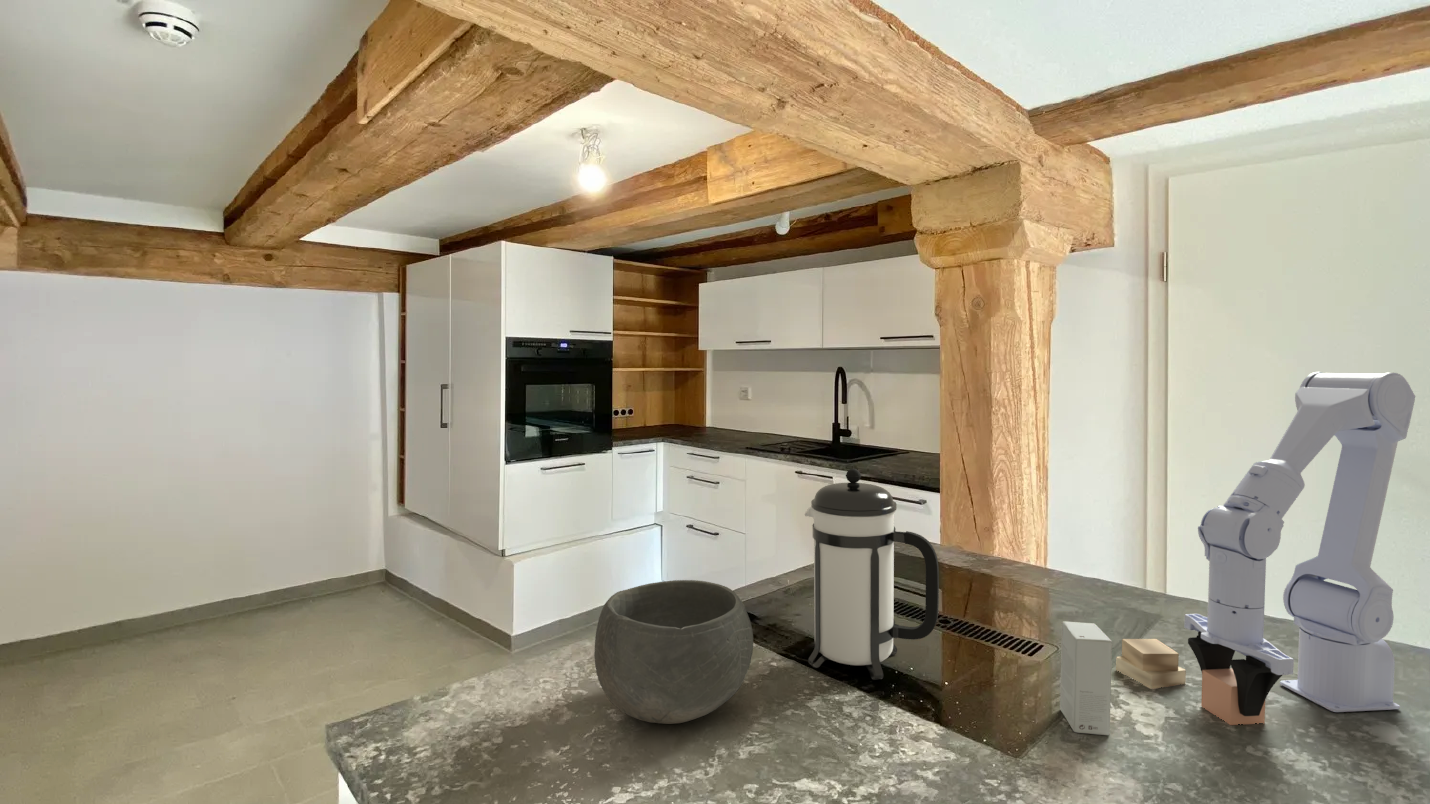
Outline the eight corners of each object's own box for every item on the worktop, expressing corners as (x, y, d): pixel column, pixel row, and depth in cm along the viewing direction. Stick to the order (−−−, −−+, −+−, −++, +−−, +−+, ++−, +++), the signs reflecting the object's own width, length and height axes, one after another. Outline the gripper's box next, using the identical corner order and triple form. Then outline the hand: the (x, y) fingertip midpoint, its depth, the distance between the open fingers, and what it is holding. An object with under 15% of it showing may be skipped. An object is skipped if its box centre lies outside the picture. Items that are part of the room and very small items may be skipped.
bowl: (731, 665, 103) (729, 569, 102) (775, 739, 82) (774, 620, 82) (591, 683, 98) (589, 582, 97) (602, 766, 77) (599, 639, 77)
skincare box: (1111, 737, 82) (1113, 641, 81) (1073, 733, 83) (1075, 638, 82) (1093, 711, 88) (1095, 622, 87) (1058, 708, 89) (1060, 620, 88)
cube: (1234, 705, 89) (1235, 668, 89) (1264, 723, 85) (1265, 685, 84) (1201, 706, 89) (1202, 669, 89) (1230, 725, 84) (1231, 686, 84)
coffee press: (831, 692, 94) (830, 480, 92) (791, 646, 110) (790, 464, 108) (941, 677, 98) (942, 474, 97) (888, 634, 114) (888, 459, 112)
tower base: (1148, 668, 101) (1149, 652, 101) (1185, 687, 95) (1185, 670, 95) (1115, 673, 100) (1116, 657, 100) (1151, 692, 94) (1151, 675, 94)
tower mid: (1155, 655, 100) (1156, 638, 100) (1178, 670, 95) (1178, 653, 95) (1121, 655, 100) (1122, 639, 100) (1142, 670, 95) (1143, 653, 95)
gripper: (1164, 583, 93) (1162, 679, 94) (1255, 624, 79) (1251, 736, 79) (1212, 582, 93) (1209, 677, 94) (1312, 621, 79) (1307, 733, 80)
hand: (1232, 704), depth 87 cm, fingers closed on cube, 5 cm apart
